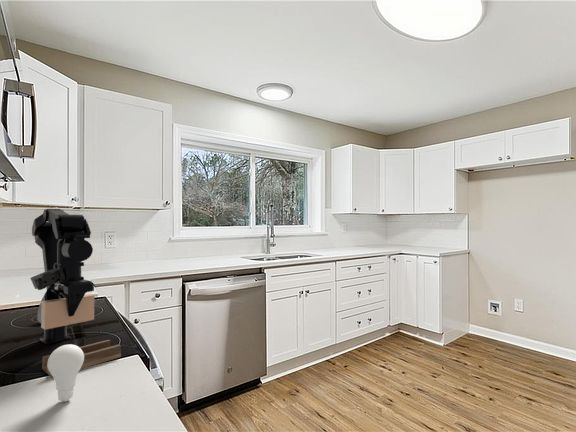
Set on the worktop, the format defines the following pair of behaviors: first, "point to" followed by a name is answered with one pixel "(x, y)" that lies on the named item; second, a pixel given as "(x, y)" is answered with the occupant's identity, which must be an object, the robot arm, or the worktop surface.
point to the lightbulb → (65, 369)
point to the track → (92, 354)
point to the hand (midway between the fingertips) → (68, 315)
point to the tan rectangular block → (65, 312)
